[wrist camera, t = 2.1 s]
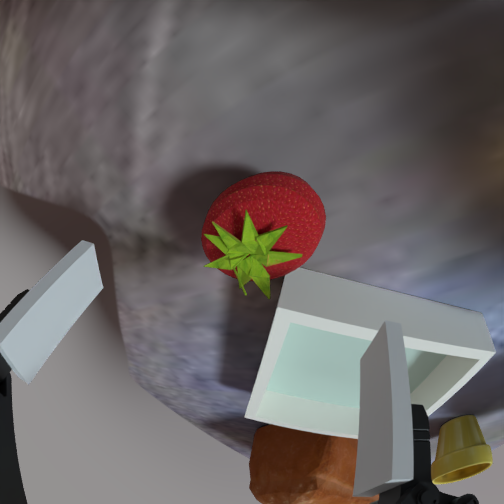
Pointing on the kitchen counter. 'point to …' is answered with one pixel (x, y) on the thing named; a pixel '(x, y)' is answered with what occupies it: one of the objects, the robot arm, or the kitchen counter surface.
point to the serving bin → (357, 351)
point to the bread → (303, 467)
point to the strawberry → (263, 228)
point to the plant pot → (460, 451)
